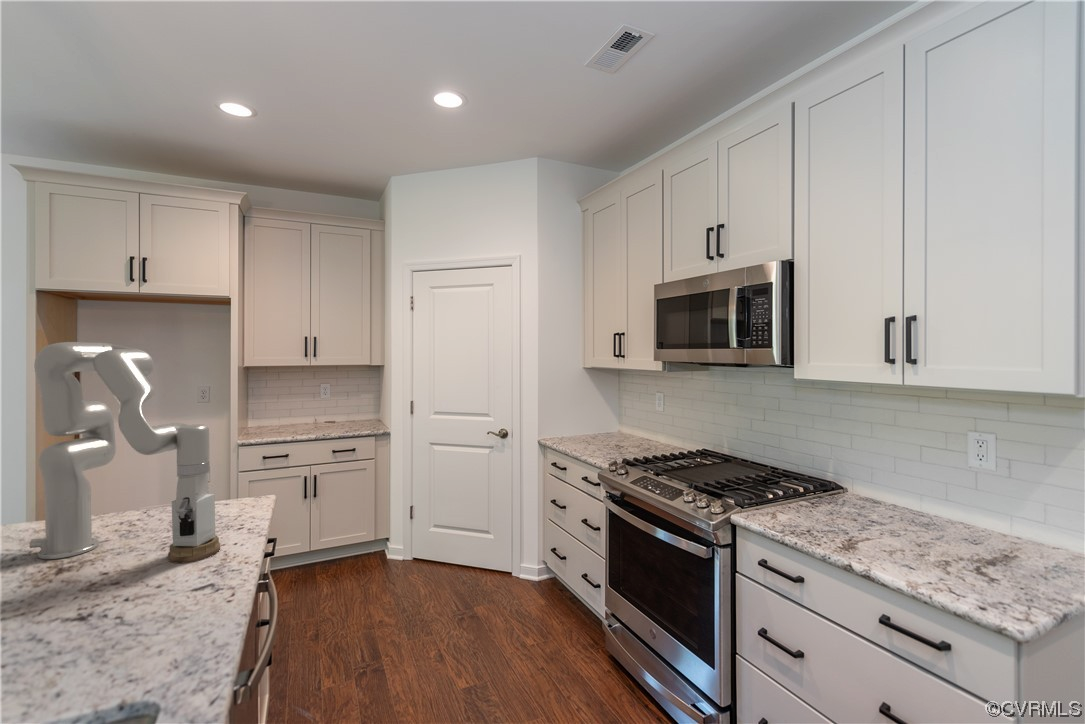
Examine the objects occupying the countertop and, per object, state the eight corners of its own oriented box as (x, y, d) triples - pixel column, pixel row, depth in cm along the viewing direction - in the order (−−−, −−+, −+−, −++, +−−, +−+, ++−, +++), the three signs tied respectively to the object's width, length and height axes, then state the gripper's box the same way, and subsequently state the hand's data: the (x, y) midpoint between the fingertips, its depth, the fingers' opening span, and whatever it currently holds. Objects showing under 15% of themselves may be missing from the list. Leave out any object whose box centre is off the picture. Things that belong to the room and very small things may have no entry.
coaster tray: (159, 565, 131) (159, 552, 131) (179, 548, 142) (179, 536, 142) (211, 560, 134) (211, 547, 134) (226, 543, 146) (226, 532, 146)
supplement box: (216, 537, 142) (215, 493, 141) (196, 547, 134) (195, 501, 134) (192, 536, 142) (191, 493, 142) (171, 546, 135) (170, 500, 135)
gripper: (190, 463, 145) (191, 520, 145) (163, 477, 128) (164, 542, 129) (219, 461, 147) (220, 518, 147) (196, 475, 130) (197, 539, 131)
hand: (194, 529), depth 138 cm, fingers open, 9 cm apart
